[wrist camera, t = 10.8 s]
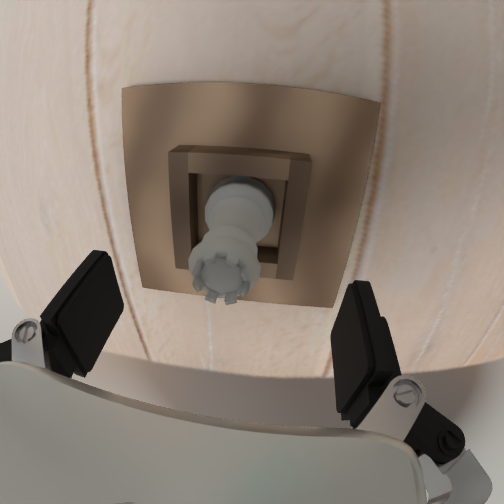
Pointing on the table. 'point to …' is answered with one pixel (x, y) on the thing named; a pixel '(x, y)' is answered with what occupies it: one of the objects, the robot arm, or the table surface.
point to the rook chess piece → (232, 238)
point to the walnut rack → (251, 165)
